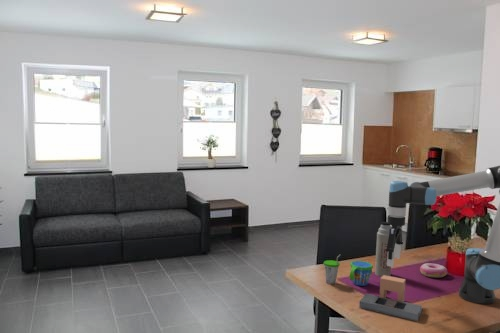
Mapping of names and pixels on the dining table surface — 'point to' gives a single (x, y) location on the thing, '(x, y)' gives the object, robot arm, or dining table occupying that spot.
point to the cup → (331, 270)
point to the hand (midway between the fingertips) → (393, 262)
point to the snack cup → (360, 272)
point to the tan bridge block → (392, 286)
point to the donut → (433, 270)
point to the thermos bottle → (382, 251)
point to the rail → (391, 307)
